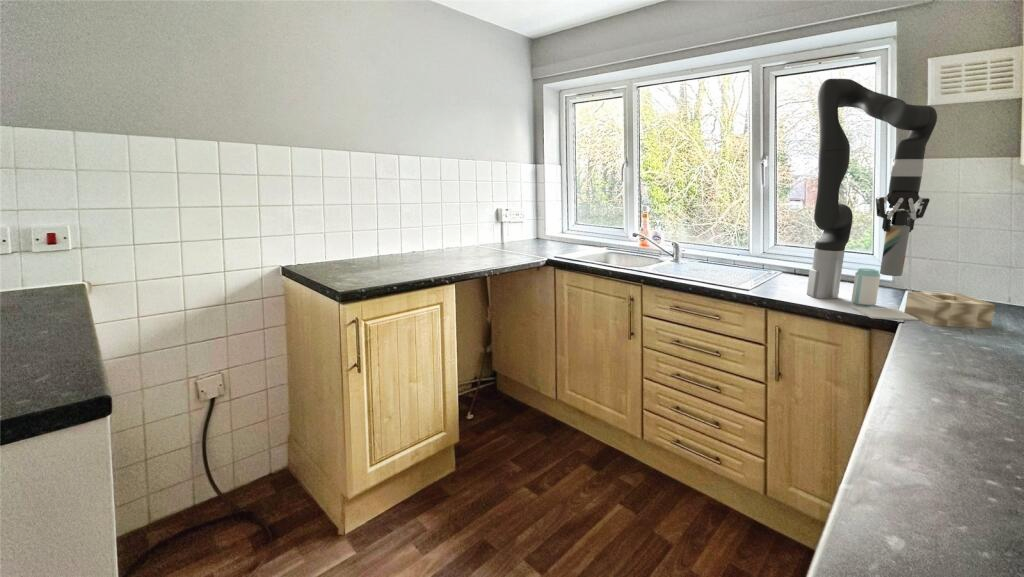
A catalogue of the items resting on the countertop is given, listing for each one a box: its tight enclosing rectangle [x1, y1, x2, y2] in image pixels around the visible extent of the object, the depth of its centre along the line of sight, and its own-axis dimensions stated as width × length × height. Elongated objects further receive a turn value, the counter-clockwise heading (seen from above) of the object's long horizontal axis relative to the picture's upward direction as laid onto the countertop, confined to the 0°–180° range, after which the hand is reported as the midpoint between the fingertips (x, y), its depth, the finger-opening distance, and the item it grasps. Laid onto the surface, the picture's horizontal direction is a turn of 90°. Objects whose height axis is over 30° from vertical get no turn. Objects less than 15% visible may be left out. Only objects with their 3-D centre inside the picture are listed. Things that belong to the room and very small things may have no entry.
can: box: [850, 267, 881, 307], centre depth 179 cm, size 7×7×12 cm
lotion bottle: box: [879, 209, 910, 277], centre depth 162 cm, size 6×6×20 cm
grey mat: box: [852, 306, 919, 321], centre depth 166 cm, size 13×13×1 cm
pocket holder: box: [903, 291, 996, 329], centre depth 159 cm, size 15×15×7 cm
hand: (897, 231), depth 161 cm, fingers closed on lotion bottle, 5 cm apart
